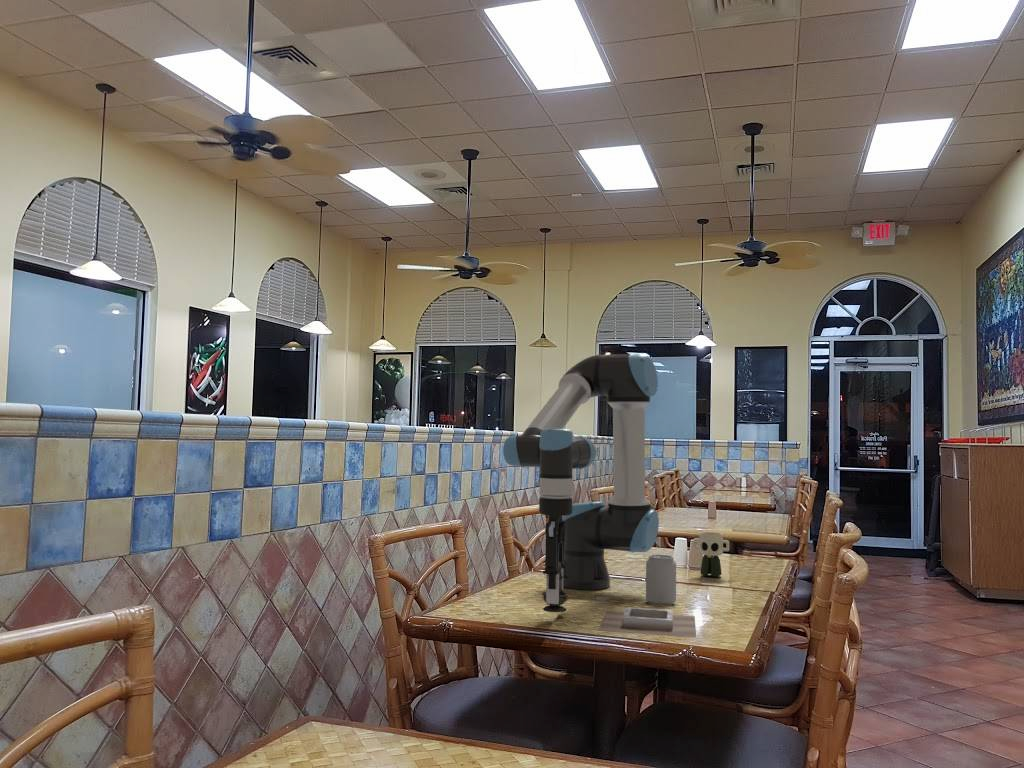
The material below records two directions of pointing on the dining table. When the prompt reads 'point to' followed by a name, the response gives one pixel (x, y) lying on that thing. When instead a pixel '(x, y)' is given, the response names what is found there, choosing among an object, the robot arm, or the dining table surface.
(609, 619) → the walnut plate
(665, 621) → the steel collar
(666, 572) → the can
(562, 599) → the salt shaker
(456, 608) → the dining table surface
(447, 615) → the dining table surface
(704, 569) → the character mug
